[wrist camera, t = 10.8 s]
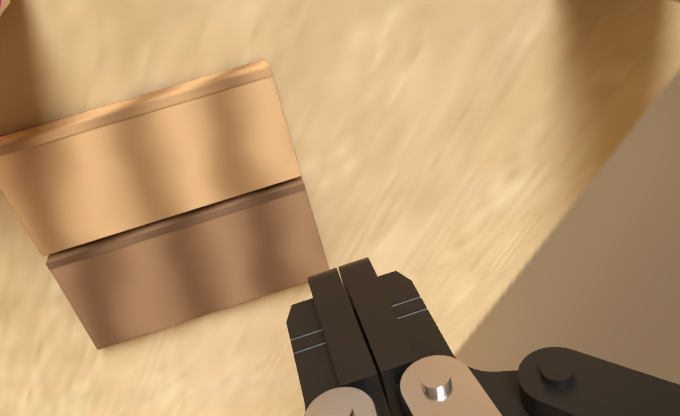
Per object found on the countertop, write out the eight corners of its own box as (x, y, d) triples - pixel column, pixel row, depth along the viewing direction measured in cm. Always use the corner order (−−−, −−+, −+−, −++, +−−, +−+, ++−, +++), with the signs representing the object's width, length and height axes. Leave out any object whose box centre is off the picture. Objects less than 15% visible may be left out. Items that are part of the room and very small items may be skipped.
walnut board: (300, 174, 48) (303, 183, 47) (326, 263, 53) (330, 274, 51) (50, 251, 47) (46, 263, 45) (100, 337, 51) (97, 350, 50)
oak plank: (266, 58, 43) (269, 65, 42) (298, 166, 48) (301, 176, 46) (-18, 142, 41) (-24, 152, 40) (45, 245, 46) (42, 257, 45)
